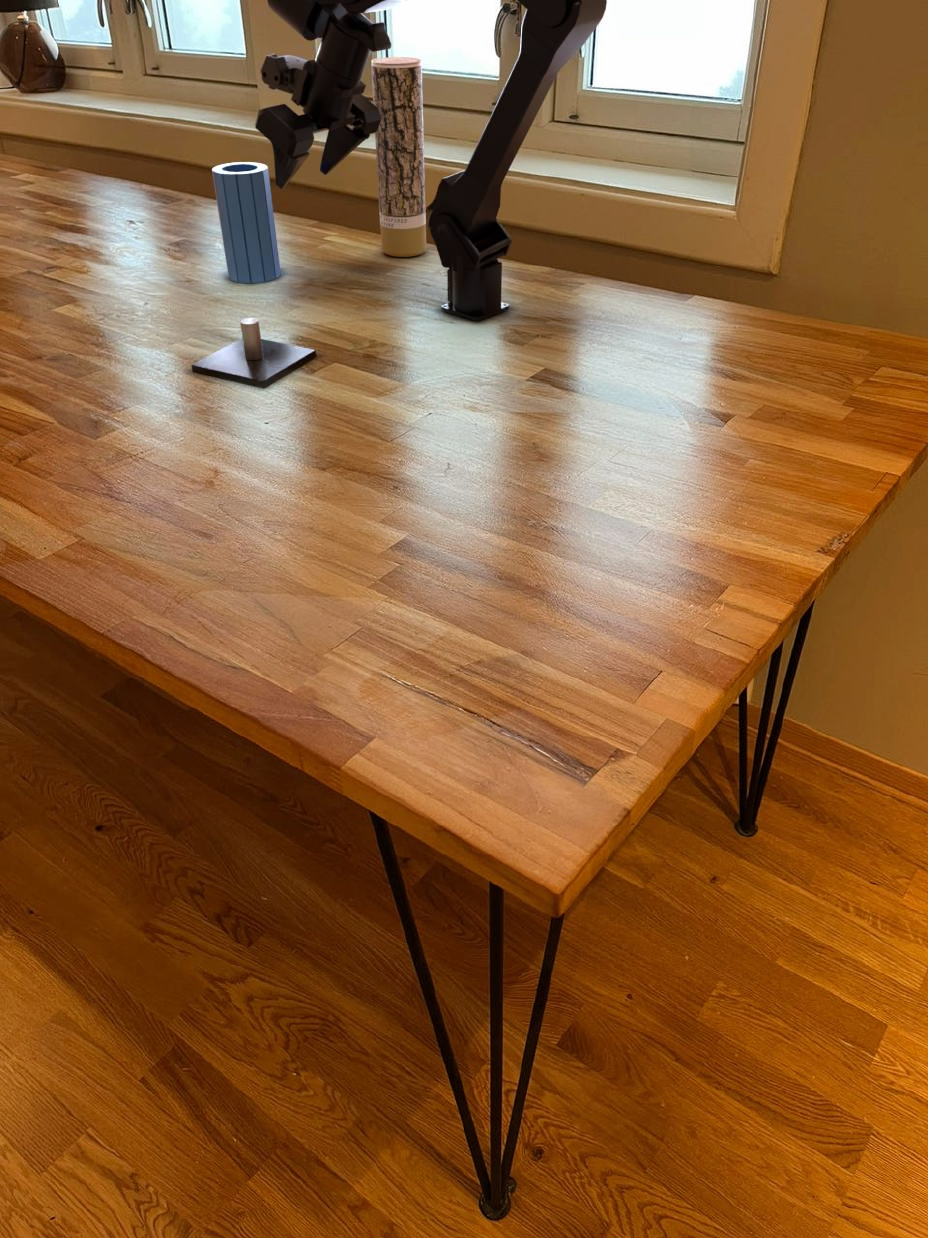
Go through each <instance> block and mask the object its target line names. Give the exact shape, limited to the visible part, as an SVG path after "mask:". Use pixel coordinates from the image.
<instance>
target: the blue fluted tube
mask: <svg viewBox="0 0 928 1238" xmlns="http://www.w3.org/2000/svg"><path fill="white" fill-rule="evenodd" d="M211 173H212V179H213V180H212V181H213V185H214V193H215V200H216V205H217V213H218V218H219V224H220V232H221V238H222V243H223V251H224V257H225V263H226V270H227V276H228V278H229V280H230V281H231V282H235V283H239V284H241V283H242V284H263V283H267V282H270V281H274V280H276V279H278V278H279V277H280V276H281V274H282V273H281V272H282V271H281V263H280V255H279V247H278V239H277V231H276V222H275V215H274V207H273V198H272V190H271V182H270V173H269V167H268V166H267V165H266V164H264V163H260V162H253V161H252V162H251V161H244V162H243V161H237V162H229V163H223V164H219V165H216V166H214V167H212V168H211Z"/></svg>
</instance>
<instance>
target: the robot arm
mask: <svg viewBox="0 0 928 1238" xmlns="http://www.w3.org/2000/svg"><path fill="white" fill-rule="evenodd" d="M406 1H407V0H267V4H268V8H269V9H270V11H272V12H273V13H274V14H275V15H276V16H277V17H279V18H280V19H281V20H282V21H284V22H285V23H286V24H287V25H288V26H290V28H291V29H293V30H294V31H295V32H296V33H298V34H299V35H300V36H301V37H303V38H304V39H305V41H309V42H312V41H315V40H317V39H321V40H320V43H319V47H318V50H317V54H316V56H315V59H309V60H308V59H304V58H301V57H299V56H295V55H288V54H287V55H280V56H278V55H277V54H276V53H272V54H266V55H265V58H264V60H263V63H262V65H261V68H260V74H261V81H262V82H263V84H264V85H267V88H268V89H270V90H273V91H275V90H279V91H281V92H284V93H287V94H290V95H291V98H290V100H291V102H293V104H295V106H297V107H301V108H302V112H303V114H297V113H296V112H295V111H294V110H293V109H291V107H290V106H289V105H287V104H286V103H281V104H277V105H273V106H268V107H264V108H262V109H259V110H258V112H257V116H256V119H255V123H254V128H255V129H256V130H257V131H258V132H260V133H261V134H262V135H263V136H264V137H265V138H266V139H267V140H268V141H269V142H270V144H271V146H272V152H273V160H274V161H273V163H274V179H275V185H276V186H277V187H278V188H279V189H280V190H283V189H285V187H287V185H288V184H289V183H290V181H291V180H292V179H293V177H294V176H295V175H296V173H297V172H298V171H299V169H300V168H301V167H302V166H303V164H304V163H305V162H306V160H307V159H308V158H309V156H310V154H311V153H310V152H309V150H310V149H311V148H312V146H313V144H314V141H315V134H317V133H321V132H325V131H327V135H326V139H325V143H324V146H323V147H324V148H323V151H322V156H321V160H320V166H319V171H320V172H321V173H322V174H323V175H324V176H325V175H326V176H327V175H329V173H331V172H332V171H333V169H334V168H336V167H337V166H338V165H339V164H340V163H341V162H343V160H344V159H345V158H346V157H348V156H349V155H350V154H351V153H352V152H353V151H355V149H356V148H358V147H359V146H360V145H361V144H363V142H365V141H366V140H369V138H370V137H371V135H372V134H375V133H376V132H377V130H378V127H379V125H380V122H381V115H380V111H379V108H377V107H376V106H375V105H374V104H373V101H370V100H369V99H368V98H367V97H366V96H364V95H363V94H364V93H365V91H366V88H367V85H366V84H365V83H364V82H363V81H362V77H363V75H364V71H365V69H366V66H367V63H368V60H369V58H370V55H371V52H373V53H375V52H381V51H385V50H391V48H392V46H393V45H392V42H391V38H390V36H389V35H388V32H387V30H386V24H385V22H383V21H380V22H376V23H374V22H372V20H370V19H369V18H368V17H367V16H366V15H365V13H366V14H367V13H373V12H381V11H388V10H390V9H392V8H395V7H396V6H398V5H400V4H402V3H404V2H406ZM517 2H519V3H520V4H521V6H523V8H525V12H524V15H523V19H522V22H521V28H520V29H521V31H520V49H519V53H518V57H517V58H516V61H515V63H514V65H513V67H512V70H511V72H510V74H509V76H508V78H507V80H506V82H505V84H504V86H503V88H502V91H501V93H500V95H499V97H498V100H497V101H496V104H495V106H494V108H493V110H492V113H491V115H490V116H489V118H488V121H487V123H486V125H485V127H484V129H483V131H482V133H481V135H480V138H479V140H478V142H477V144H476V146H475V147H474V151H473V153H472V155H471V157H470V159H469V161H468V163H467V165H466V167H465V170H461V171H459V172H457V173H454V174H451V175H448V176H446V177H443V178H441V179H440V181H439V183H438V186H437V189H436V193H435V196H434V199H433V200H432V202H431V203H430V204H429V205H427V206H426V209H427V210H428V211H430V213H429V216H428V218H427V227H428V229H429V233H430V235H431V238H432V239H433V242H434V244H435V247H436V250H437V254H438V257H439V259H440V263H441V266H442V267H443V268H447V271H446V273H447V274H446V278H447V281H446V282H447V283H446V284H447V286H446V287H447V302H448V303H445V304H443V305H441V306H440V310H441V311H442V312H446V313H450V314H452V315H455V316H459V317H462V318H465V319H468V320H471V321H475V322H479V321H483V320H485V319H487V318H490V317H491V316H495V315H497V314H500V313H502V312H504V311H507V310H509V309H510V304H508V303H506V302H502V287H503V286H502V284H503V283H502V281H503V262H502V261H499V259H500V258H502V257H505V256H507V255H508V254H509V251H510V248H511V245H512V242H513V240H512V237H511V236H510V235H509V233H508V232H507V231H506V230H505V228H504V226H503V225H502V224H501V223H500V221H499V220H498V219H497V217H498V214H499V210H500V208H501V197H502V194H501V193H502V186H503V182H504V180H505V179H506V177H507V174H508V172H509V170H510V169H511V166H512V164H513V162H514V160H515V158H516V156H517V155H518V152H519V151H520V148H521V147H522V145H523V143H524V141H525V139H526V137H527V135H528V133H529V131H530V129H531V127H532V125H533V123H534V121H535V119H536V117H537V115H538V113H539V111H540V109H541V107H542V105H543V103H544V102H545V99H546V98H547V95H548V93H549V91H550V89H551V88H552V86H553V83H554V82H555V79H556V77H557V76H558V74H559V73H560V71H561V69H562V68H563V67H564V66H565V65H567V63H568V62H569V61H570V60H571V59H572V58H573V57H574V55H576V54H577V53H578V51H579V50H580V49H581V48H582V47H583V46H584V45H585V44H586V42H587V40H588V39H589V38H590V37H591V35H592V34H593V33H594V31H595V30H596V28H597V27H598V25H599V24H600V23H601V21H602V19H603V18H604V17H605V12H606V9H607V4H608V0H517Z"/></svg>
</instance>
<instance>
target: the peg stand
mask: <svg viewBox="0 0 928 1238" xmlns="http://www.w3.org/2000/svg"><path fill="white" fill-rule="evenodd" d="M259 322H260V321H259V319H257V318H254V317H246V318H243V319H241V320H240V321H239V323H240V331H241V338H240V339H238V340H236V341H234V342H232V343H230V344H228V345H227V346H224V347H223V348H221V349H219V350H217V351H215V352H213V353H211V354H210V355H208V356H205V357H204V358H202V359H200V360H198V361H196V362H194V363H193V364H191V365H190V366H191V371H192V372H193V373H197V374H201V375H206V376H210V377H215V378H219V379H223V380H228V381H231V382H232V381H233V382H237V383H241V384H245V385H250V386H254V387H260V388H263V389H265V388H267V387H269V386H270V385H271V384H274V383H275V382H277V381H279V380H280V379H282V378H283V377H285V376H286V375H289V374H291V372H293V371H295V370H297V369H299V368H300V367H302V366H303V365H304V364H307V363H308V362H310V361H312V360H313V359H315V358H316V357H317V350H316V349H314V348H313V349H312V348H308V347H303V346H298V345H293V344H289V343H284V342H279V341H273V340H268V339H262V337H261V329H260V323H259Z"/></svg>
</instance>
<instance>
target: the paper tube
mask: <svg viewBox="0 0 928 1238" xmlns="http://www.w3.org/2000/svg"><path fill="white" fill-rule="evenodd" d="M370 65H371V83H372V84H371V85H372V100H373V101H372V103H373V104H374V105H375V106H376V107H377V108H379V111H380V115H381V122H380V125H379V127H378V130H377V132H376V133H374V137H375V152H376V153H375V156H376V172H377V173H376V174H377V175H376V177H377V194H378V210H379V211H378V212H379V225H380V228H379V229H380V242H381V243H380V244H381V245H380V246H381V250H382V252H383V253H384V254H386V255H388V256H391V257H396V258H410V257H416V256H419V255H422V254H423V253H424V252H425V251H426V249H427V213H426V209H427V208H426V179H425V177H426V176H425V175H426V174H425V142H424V141H425V139H424V101H423V63H422V59H421V58H416V57H406V56H405V57H404V56H393V57H391V56H390V57H378V58H374V59H371V64H370Z"/></svg>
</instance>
